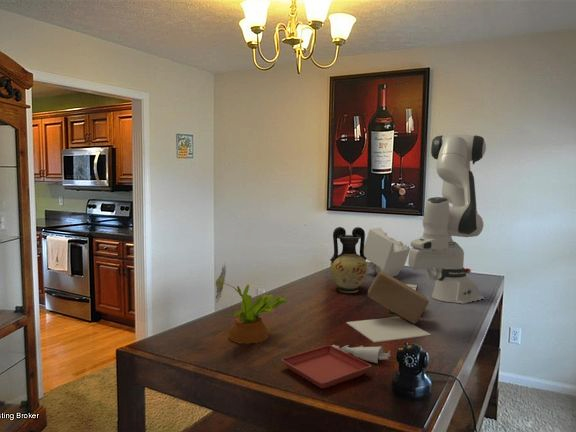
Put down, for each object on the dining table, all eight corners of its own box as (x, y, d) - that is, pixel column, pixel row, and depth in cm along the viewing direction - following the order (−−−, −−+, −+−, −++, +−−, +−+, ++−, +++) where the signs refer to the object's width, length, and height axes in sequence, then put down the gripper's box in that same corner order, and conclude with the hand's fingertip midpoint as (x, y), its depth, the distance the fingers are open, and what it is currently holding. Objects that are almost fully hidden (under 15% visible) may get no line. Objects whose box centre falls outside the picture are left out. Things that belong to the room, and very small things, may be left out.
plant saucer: (321, 395, 113) (321, 382, 112) (280, 369, 127) (280, 358, 127) (372, 376, 123) (372, 365, 123) (328, 355, 138) (329, 344, 137)
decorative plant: (222, 323, 164) (222, 255, 161) (288, 325, 163) (289, 256, 161) (206, 353, 137) (206, 271, 134) (286, 355, 136) (287, 273, 134)
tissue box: (378, 265, 259) (392, 225, 250) (400, 279, 248) (415, 238, 240) (355, 270, 245) (369, 228, 237) (378, 285, 235) (393, 242, 226)
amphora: (356, 285, 223) (358, 224, 220) (373, 293, 207) (375, 228, 205) (323, 287, 218) (325, 225, 215) (338, 296, 202) (340, 229, 199)
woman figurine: (383, 355, 126) (323, 348, 134) (384, 371, 126) (324, 362, 134) (393, 341, 136) (337, 335, 144) (394, 356, 137) (337, 349, 145)
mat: (398, 317, 173) (398, 316, 173) (430, 335, 154) (431, 334, 154) (346, 323, 166) (346, 322, 166) (374, 342, 147) (374, 341, 147)
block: (429, 301, 161) (380, 272, 165) (415, 325, 162) (366, 296, 166) (427, 296, 171) (380, 269, 174) (413, 318, 172) (367, 291, 175)
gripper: (453, 240, 170) (451, 276, 171) (406, 242, 163) (405, 279, 164) (465, 242, 164) (463, 280, 165) (417, 244, 157) (415, 283, 158)
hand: (433, 280), depth 165 cm, fingers closed
